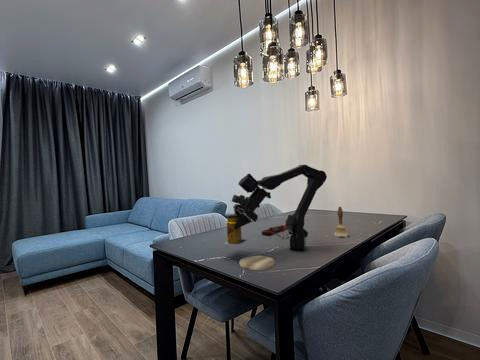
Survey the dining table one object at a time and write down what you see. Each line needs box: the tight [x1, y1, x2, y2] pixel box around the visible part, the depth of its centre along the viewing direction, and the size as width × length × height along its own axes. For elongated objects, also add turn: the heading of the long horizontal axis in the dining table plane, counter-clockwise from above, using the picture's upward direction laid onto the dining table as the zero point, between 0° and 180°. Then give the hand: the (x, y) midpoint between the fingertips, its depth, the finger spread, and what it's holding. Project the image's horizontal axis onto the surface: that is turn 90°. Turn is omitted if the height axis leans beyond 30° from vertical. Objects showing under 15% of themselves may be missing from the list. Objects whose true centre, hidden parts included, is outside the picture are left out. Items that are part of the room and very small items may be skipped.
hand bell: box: [333, 206, 349, 236], centre depth 144 cm, size 8×8×16 cm
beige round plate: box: [238, 255, 275, 271], centre depth 107 cm, size 14×14×1 cm
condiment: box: [225, 213, 247, 246], centre depth 116 cm, size 7×8×12 cm
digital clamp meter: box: [261, 224, 291, 240], centre depth 154 cm, size 23×4×25 cm
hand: (232, 227), depth 115 cm, fingers closed on condiment, 6 cm apart
